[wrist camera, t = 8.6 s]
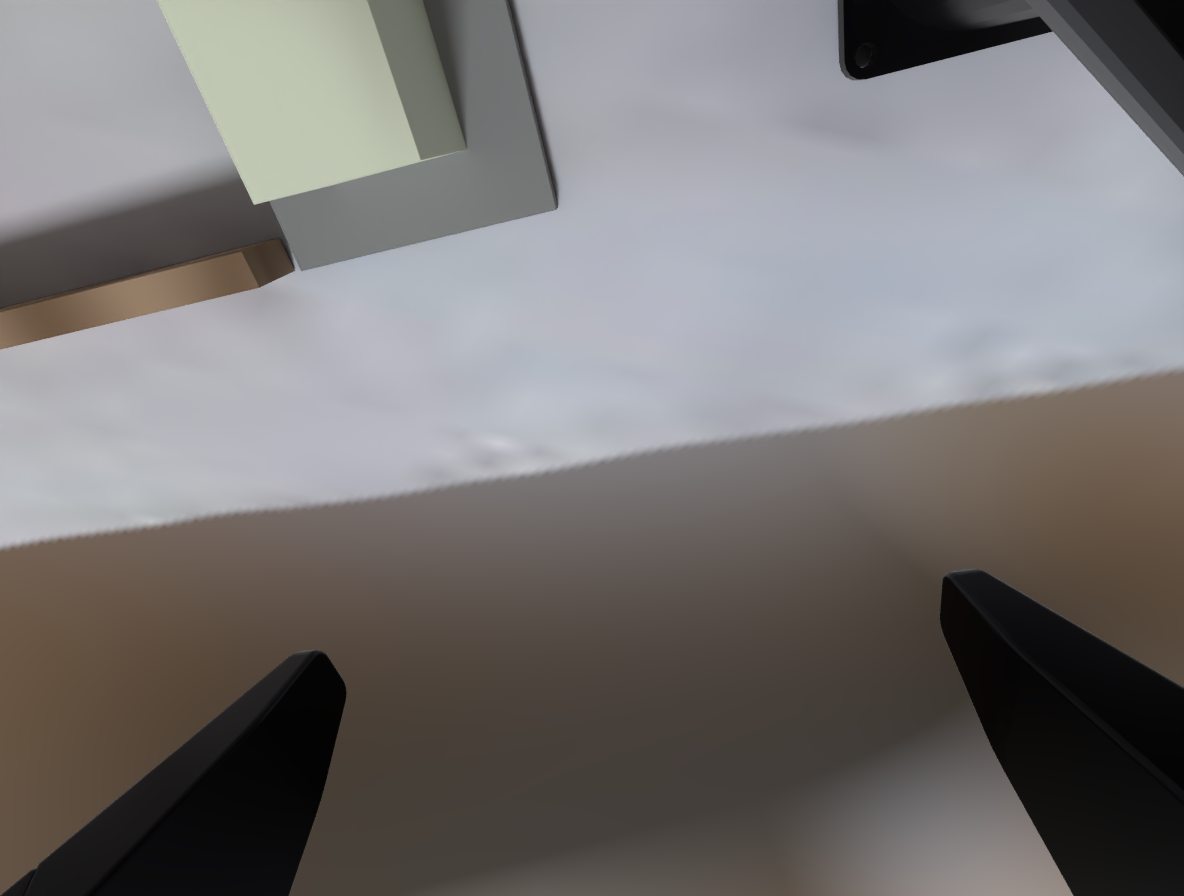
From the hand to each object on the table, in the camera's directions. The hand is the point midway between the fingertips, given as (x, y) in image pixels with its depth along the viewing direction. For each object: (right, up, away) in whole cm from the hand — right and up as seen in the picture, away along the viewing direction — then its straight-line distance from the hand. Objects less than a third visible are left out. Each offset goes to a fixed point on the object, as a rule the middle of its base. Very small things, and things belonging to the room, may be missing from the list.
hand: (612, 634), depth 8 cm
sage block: (-6, +13, +6) cm, 16 cm away
